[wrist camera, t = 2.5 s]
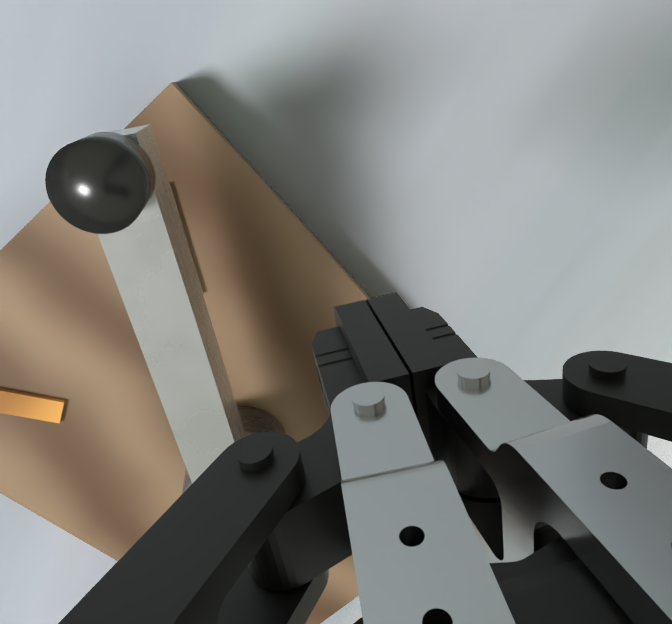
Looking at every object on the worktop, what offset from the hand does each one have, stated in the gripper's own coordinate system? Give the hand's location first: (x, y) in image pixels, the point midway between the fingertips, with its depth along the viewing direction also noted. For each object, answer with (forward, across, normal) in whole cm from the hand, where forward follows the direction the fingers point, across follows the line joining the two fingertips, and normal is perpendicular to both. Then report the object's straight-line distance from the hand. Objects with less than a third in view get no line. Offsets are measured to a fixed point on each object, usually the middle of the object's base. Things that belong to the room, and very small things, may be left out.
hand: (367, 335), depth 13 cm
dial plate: (+14, +6, +11) cm, 18 cm away
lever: (+12, +6, +4) cm, 14 cm away
